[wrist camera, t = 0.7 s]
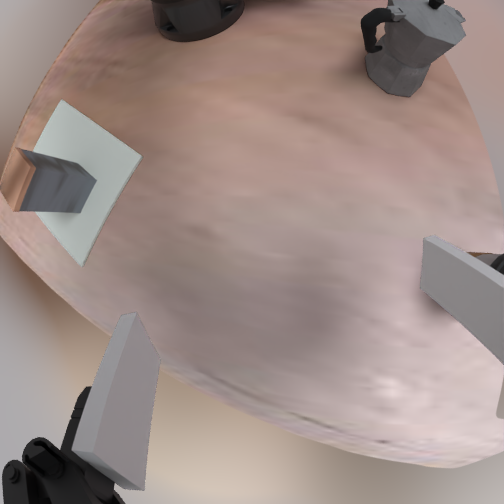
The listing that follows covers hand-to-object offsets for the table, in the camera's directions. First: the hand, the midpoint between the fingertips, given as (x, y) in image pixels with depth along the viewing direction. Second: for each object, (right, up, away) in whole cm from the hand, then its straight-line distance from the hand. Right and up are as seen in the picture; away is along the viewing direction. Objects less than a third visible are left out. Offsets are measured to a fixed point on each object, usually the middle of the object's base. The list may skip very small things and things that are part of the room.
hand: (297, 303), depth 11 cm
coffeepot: (+18, +28, +19) cm, 38 cm away
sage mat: (-34, +15, +27) cm, 46 cm away
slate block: (-30, +12, +26) cm, 42 cm away
